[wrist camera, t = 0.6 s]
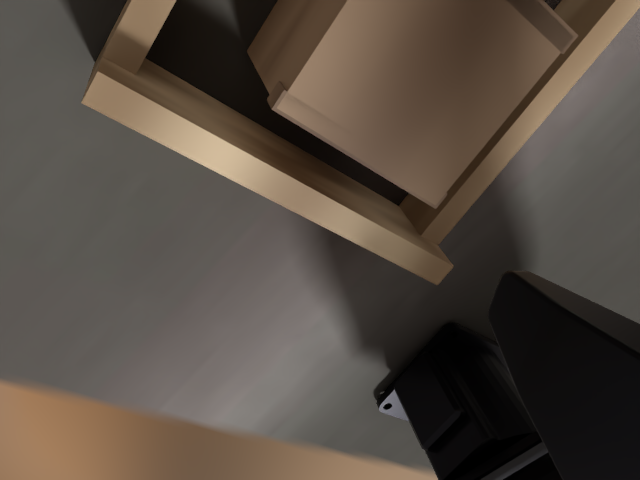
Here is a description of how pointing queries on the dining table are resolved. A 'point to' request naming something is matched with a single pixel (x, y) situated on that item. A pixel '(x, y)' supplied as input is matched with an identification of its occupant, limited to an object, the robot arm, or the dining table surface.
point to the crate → (406, 77)
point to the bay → (304, 169)
